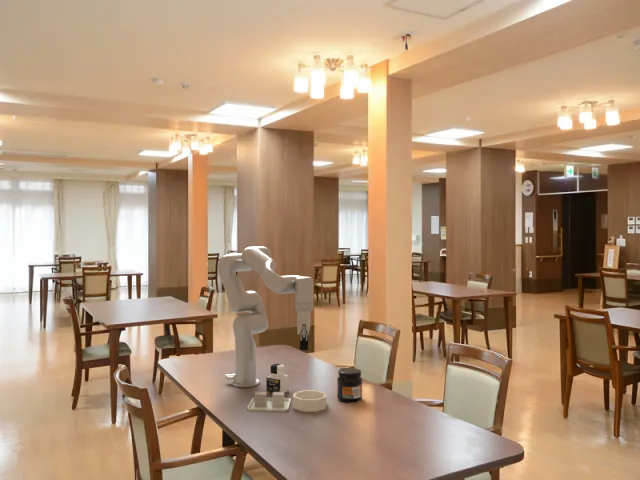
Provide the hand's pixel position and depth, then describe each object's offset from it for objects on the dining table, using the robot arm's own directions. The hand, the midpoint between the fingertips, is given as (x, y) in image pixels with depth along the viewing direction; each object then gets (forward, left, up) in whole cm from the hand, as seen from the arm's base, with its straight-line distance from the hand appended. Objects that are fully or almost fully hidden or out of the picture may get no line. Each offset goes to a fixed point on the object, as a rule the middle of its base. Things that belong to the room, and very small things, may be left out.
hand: (304, 347), depth 227 cm
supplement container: (+19, 0, -22) cm, 29 cm away
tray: (-13, -11, -21) cm, 27 cm away
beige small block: (-17, -11, -21) cm, 29 cm away
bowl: (+3, -11, -21) cm, 24 cm away
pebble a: (-10, -11, -21) cm, 25 cm away
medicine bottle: (-12, +8, -22) cm, 26 cm away
